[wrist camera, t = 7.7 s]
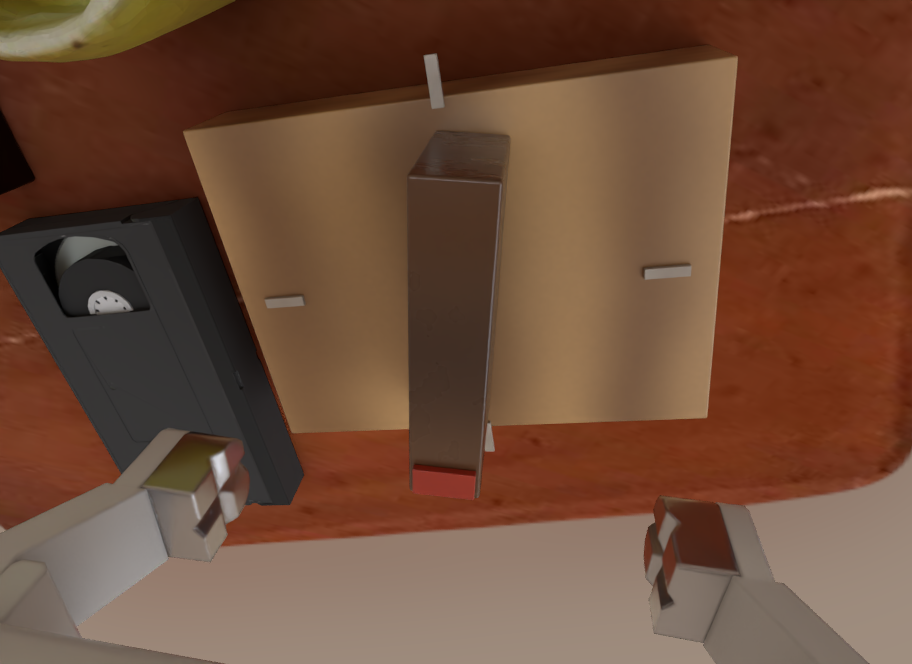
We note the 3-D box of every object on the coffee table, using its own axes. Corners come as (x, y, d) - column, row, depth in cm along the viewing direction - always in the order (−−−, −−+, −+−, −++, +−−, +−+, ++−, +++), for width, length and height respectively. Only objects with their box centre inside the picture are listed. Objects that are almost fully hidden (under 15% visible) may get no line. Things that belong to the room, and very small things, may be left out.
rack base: (713, 2, 17) (745, 8, 15) (688, 393, 24) (706, 445, 22) (214, 78, 20) (164, 93, 17) (321, 409, 27) (297, 457, 24)
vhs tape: (20, 219, 24) (-19, 238, 22) (198, 196, 22) (170, 215, 21) (162, 479, 31) (140, 508, 29) (304, 474, 29) (289, 504, 28)
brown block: (434, 129, 17) (403, 177, 13) (511, 134, 17) (502, 183, 13) (430, 403, 22) (407, 497, 18) (489, 409, 22) (478, 505, 18)
